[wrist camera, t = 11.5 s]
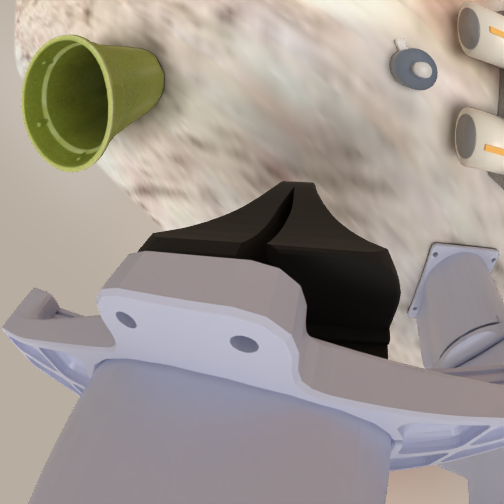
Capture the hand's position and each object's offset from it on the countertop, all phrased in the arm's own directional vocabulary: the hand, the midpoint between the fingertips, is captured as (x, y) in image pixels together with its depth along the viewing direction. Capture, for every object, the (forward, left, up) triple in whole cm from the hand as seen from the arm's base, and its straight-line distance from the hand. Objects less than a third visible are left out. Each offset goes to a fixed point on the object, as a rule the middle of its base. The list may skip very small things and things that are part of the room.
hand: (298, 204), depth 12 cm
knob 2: (+2, -16, -9) cm, 18 cm away
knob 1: (+10, -16, -9) cm, 21 cm away
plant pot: (+6, +14, -11) cm, 19 cm away
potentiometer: (+6, -7, -10) cm, 14 cm away
